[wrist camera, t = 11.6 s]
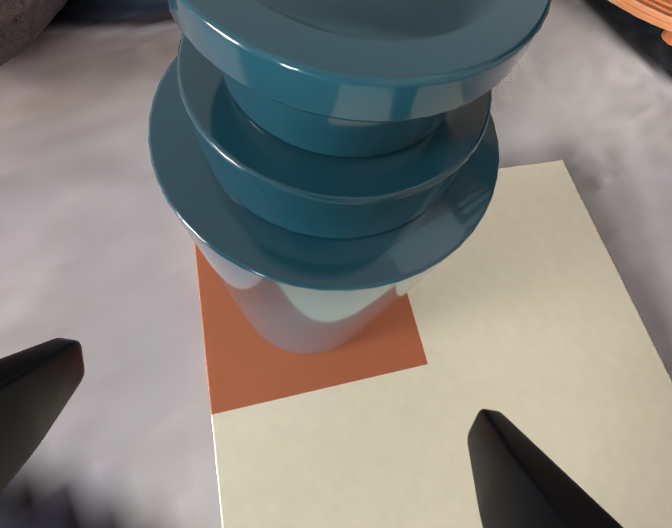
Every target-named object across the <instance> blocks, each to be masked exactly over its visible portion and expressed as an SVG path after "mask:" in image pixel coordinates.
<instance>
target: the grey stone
mask: <svg viewBox="0 0 672 528" xmlns="http://www.w3.org/2000/svg"><path fill="white" fill-rule="evenodd" d="M67 1H68V0H0V66H1V65H2V64H4V63H6V62H7V61H8V60H9V59H11V58H12V57H15V56H16V55H17V54H19V53H20V52H22V51H23V50H24V49H26V48H27V47H28V46H29V45H30V44H31V43H32V42H33V41H34V39H35V38H36V37H37V36H39V34H40V33H41V32H42V31H43V30H44V28H45V27H46V26H47V25H48V24H49V23H50V22H51V20H52V19H53V18H54V17H55V15H56V14H57V13H58V12H59V11H60V10H61V9H62V8H63V7H64V5H65V4H66V2H67Z"/></svg>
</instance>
